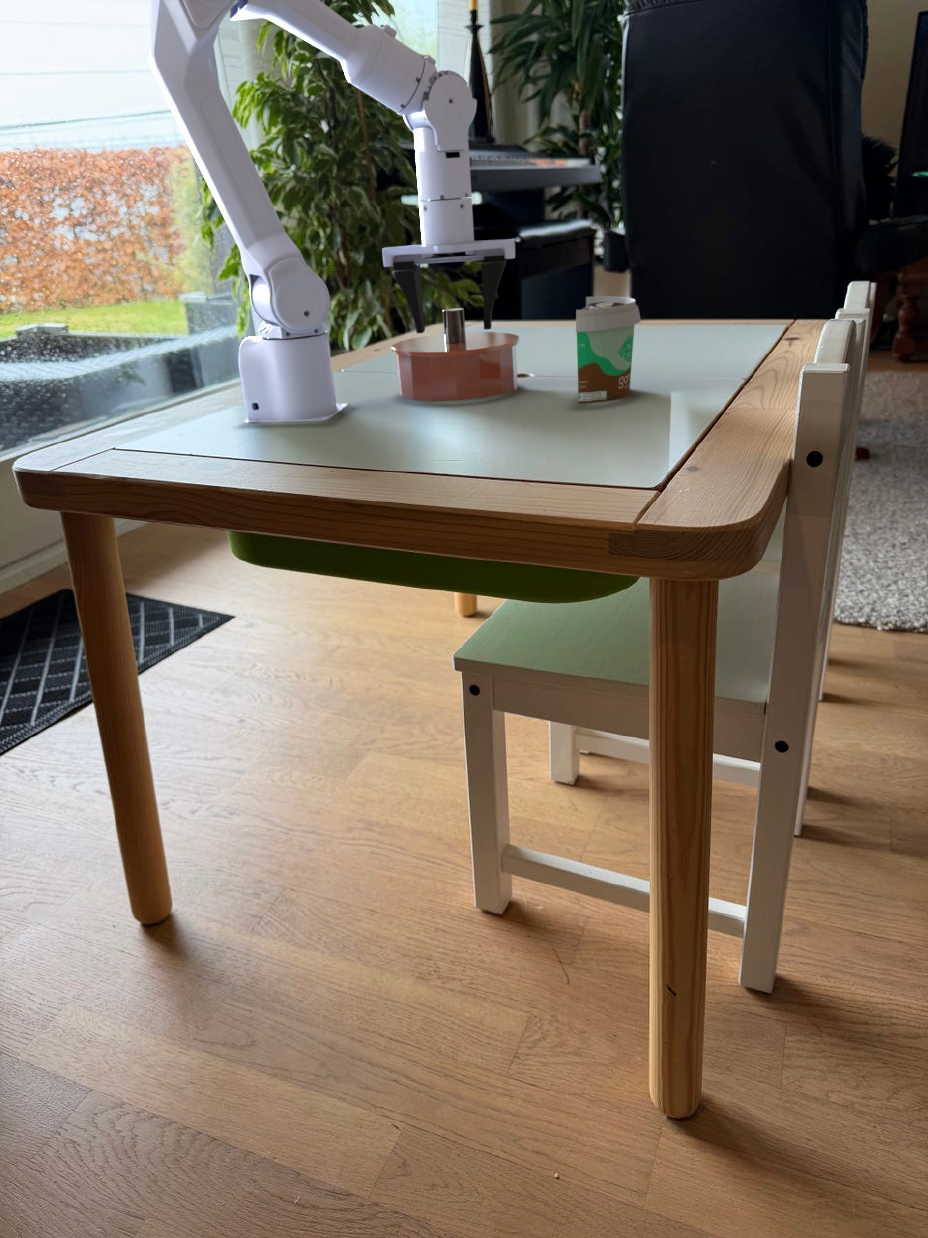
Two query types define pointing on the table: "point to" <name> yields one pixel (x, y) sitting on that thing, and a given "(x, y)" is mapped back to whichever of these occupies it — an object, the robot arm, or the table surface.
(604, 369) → the food container
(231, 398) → the table surface
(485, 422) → the table surface
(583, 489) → the table surface
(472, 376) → the tin
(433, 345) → the cover
